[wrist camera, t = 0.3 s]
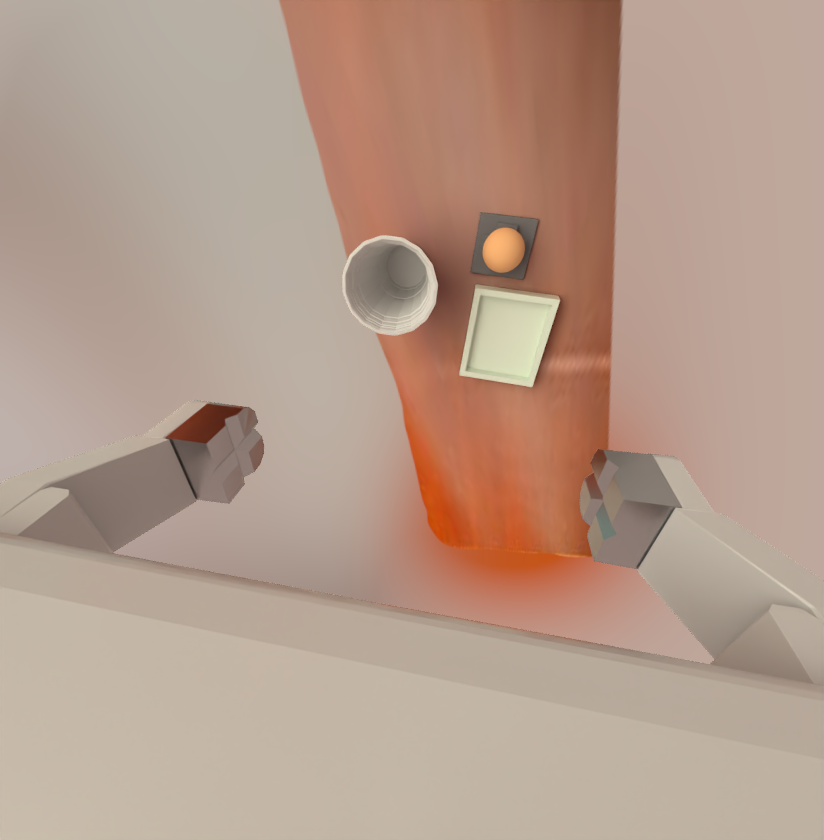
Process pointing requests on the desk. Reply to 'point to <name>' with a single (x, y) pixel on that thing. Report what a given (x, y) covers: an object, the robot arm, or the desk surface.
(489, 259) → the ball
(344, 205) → the desk surface
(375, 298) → the plastic cup
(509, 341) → the tray
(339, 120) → the desk surface
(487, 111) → the desk surface
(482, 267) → the coaster
